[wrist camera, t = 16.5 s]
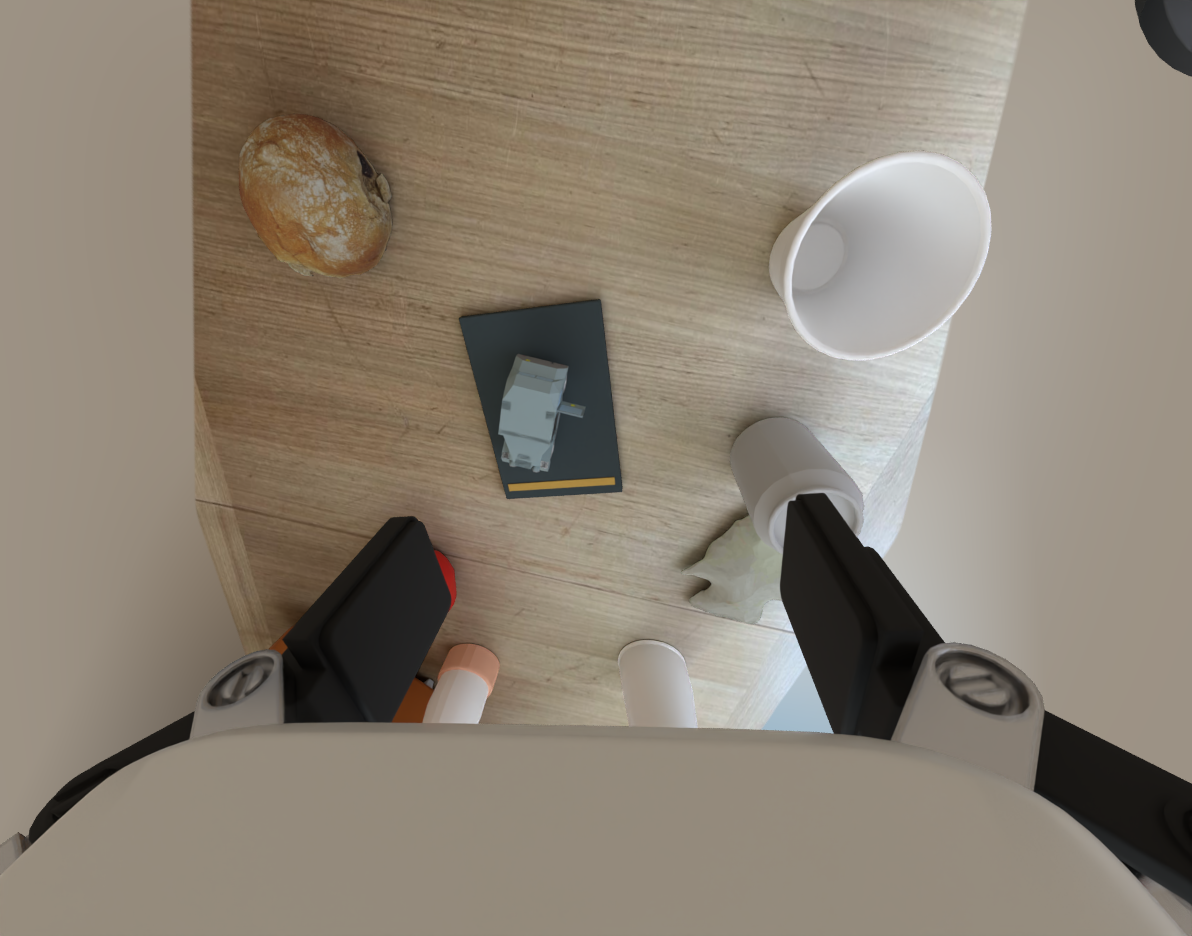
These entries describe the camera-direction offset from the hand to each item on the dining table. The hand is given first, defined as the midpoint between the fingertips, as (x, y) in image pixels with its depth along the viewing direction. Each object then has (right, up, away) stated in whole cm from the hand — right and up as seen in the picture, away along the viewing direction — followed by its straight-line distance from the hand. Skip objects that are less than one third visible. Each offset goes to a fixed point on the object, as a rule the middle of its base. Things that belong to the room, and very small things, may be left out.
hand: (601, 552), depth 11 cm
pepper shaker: (-17, -24, +47) cm, 56 cm away
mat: (-5, +8, +29) cm, 30 cm away
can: (+16, +4, +29) cm, 33 cm away
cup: (+16, +18, +21) cm, 32 cm away
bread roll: (-21, +22, +23) cm, 38 cm away
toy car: (-4, +7, +28) cm, 29 cm away
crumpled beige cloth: (+16, -8, +35) cm, 39 cm away
